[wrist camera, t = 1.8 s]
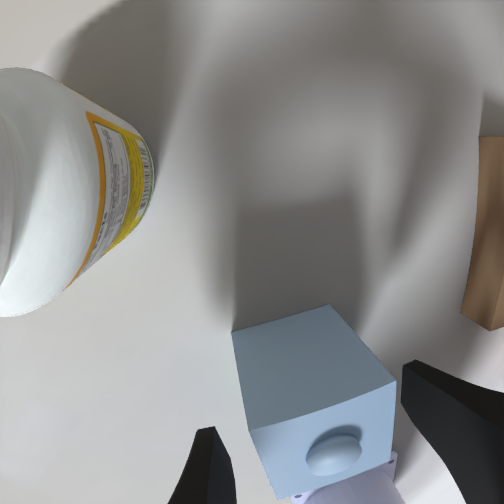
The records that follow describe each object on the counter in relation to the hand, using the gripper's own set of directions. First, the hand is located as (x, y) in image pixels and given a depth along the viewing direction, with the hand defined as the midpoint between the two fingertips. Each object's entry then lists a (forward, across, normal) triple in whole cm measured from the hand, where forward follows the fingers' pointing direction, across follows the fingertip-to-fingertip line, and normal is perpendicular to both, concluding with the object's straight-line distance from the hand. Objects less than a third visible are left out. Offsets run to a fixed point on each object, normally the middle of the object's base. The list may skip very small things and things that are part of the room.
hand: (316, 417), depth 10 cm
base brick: (+5, -14, -3) cm, 15 cm away
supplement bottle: (+4, +6, -10) cm, 12 cm away
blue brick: (+4, 0, 0) cm, 4 cm away
